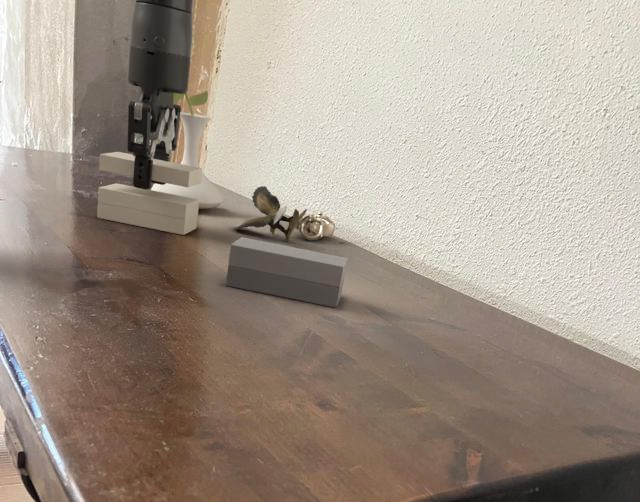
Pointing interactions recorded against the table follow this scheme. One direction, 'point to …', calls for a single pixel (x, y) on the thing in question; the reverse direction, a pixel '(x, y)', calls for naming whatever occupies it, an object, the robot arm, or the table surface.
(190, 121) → the flower in vase
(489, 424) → the table surface
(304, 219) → the ornament
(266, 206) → the eagle figurine
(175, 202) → the white books
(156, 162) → the white book
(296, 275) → the grey books
